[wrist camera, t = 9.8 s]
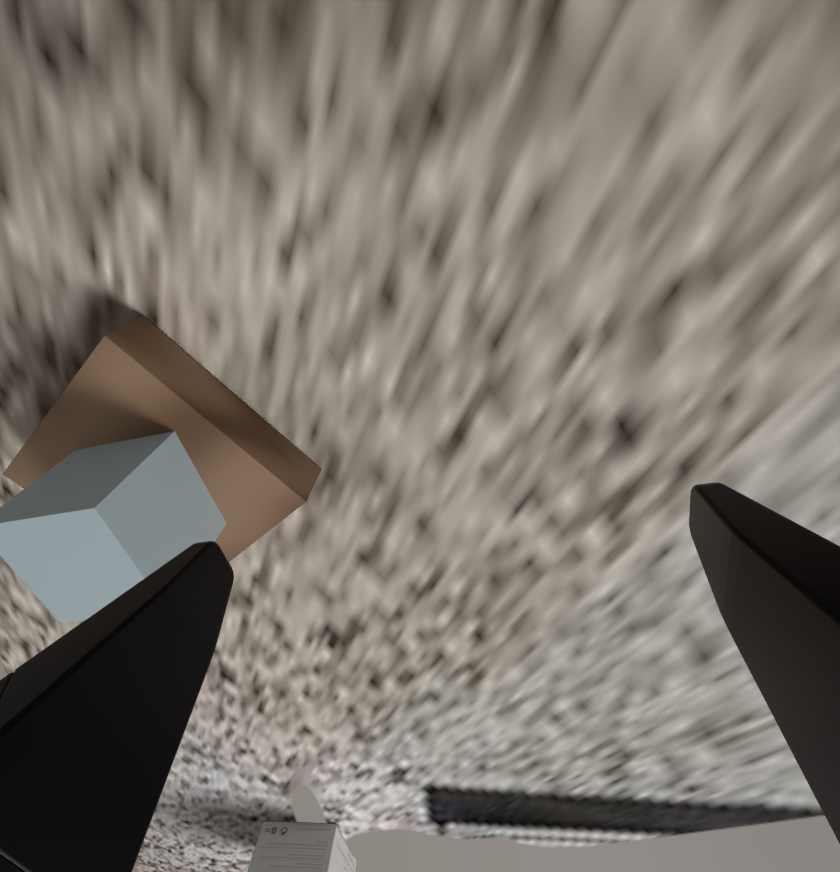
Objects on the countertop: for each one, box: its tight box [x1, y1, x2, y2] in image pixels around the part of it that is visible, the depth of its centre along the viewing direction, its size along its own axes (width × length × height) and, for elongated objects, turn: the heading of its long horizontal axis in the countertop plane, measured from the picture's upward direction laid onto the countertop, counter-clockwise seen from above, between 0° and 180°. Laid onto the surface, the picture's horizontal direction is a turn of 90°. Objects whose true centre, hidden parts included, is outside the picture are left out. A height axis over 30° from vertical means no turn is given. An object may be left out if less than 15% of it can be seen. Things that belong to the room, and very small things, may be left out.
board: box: [3, 316, 321, 562], centre depth 23 cm, size 10×10×2 cm
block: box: [0, 431, 227, 623], centre depth 20 cm, size 5×5×5 cm
